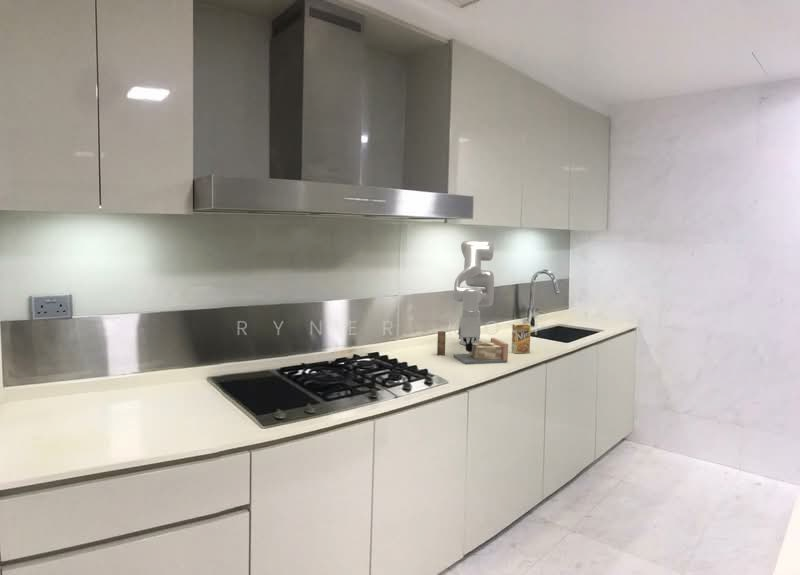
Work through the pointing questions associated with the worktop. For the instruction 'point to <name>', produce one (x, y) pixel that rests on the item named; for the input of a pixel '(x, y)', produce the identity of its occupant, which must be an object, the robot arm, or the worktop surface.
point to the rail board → (471, 360)
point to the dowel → (441, 343)
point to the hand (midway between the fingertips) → (468, 351)
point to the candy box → (521, 338)
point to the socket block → (486, 351)
